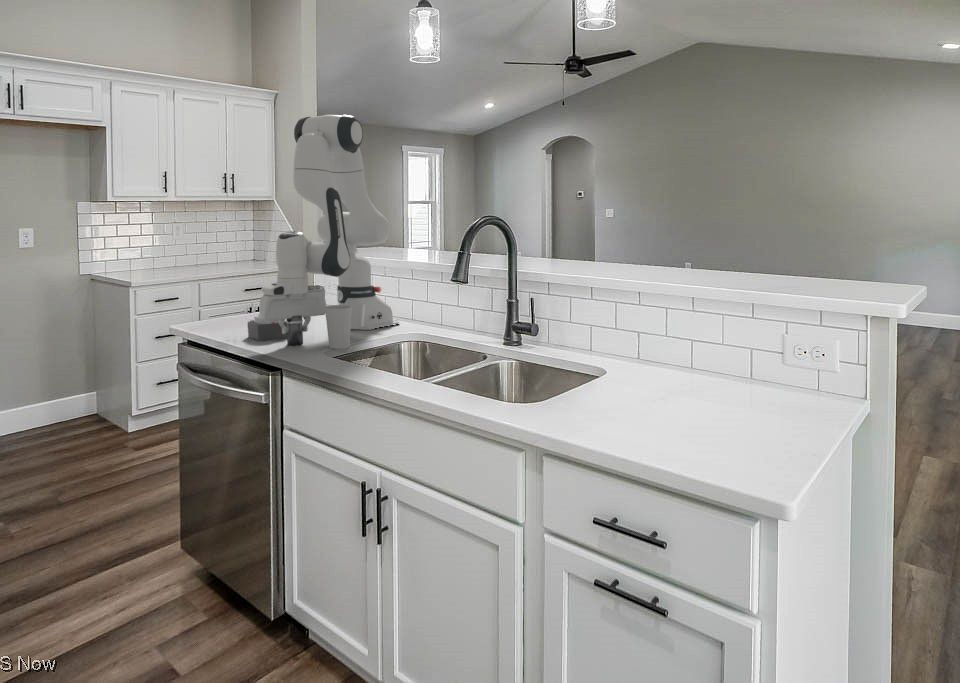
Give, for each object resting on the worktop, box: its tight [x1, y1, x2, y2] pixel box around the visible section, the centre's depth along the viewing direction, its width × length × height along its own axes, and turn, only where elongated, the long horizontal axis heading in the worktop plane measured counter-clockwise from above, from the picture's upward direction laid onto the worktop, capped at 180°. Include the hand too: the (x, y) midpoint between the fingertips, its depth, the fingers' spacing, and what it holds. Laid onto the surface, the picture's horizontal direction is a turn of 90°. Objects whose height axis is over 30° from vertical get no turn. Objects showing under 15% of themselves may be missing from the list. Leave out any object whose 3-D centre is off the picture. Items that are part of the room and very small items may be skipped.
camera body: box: [247, 313, 287, 342], centre depth 220 cm, size 10×9×7 cm
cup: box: [325, 304, 352, 350], centre depth 207 cm, size 8×8×12 cm
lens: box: [285, 315, 304, 347], centre depth 210 cm, size 5×5×9 cm
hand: (294, 332), depth 210 cm, fingers open, 5 cm apart
